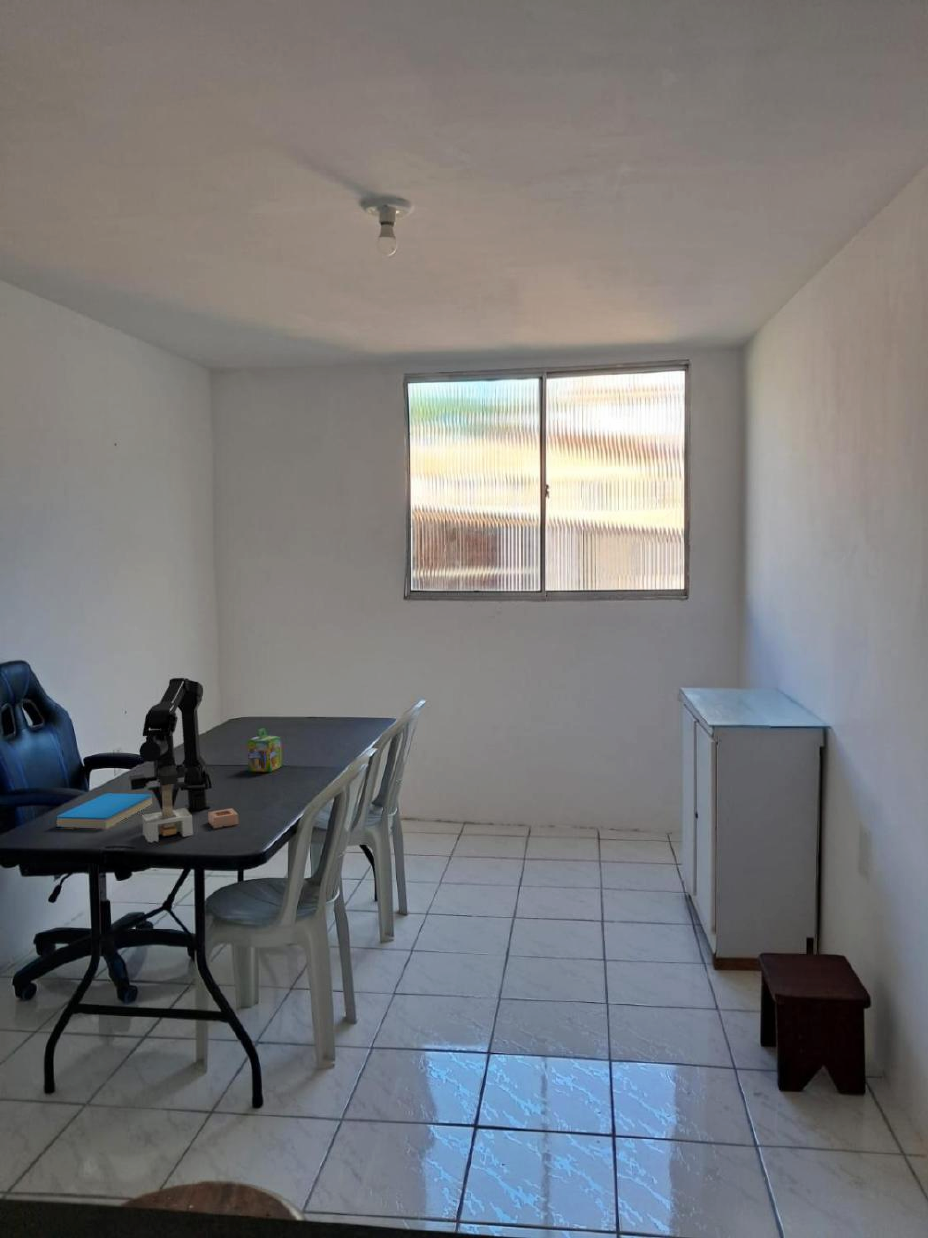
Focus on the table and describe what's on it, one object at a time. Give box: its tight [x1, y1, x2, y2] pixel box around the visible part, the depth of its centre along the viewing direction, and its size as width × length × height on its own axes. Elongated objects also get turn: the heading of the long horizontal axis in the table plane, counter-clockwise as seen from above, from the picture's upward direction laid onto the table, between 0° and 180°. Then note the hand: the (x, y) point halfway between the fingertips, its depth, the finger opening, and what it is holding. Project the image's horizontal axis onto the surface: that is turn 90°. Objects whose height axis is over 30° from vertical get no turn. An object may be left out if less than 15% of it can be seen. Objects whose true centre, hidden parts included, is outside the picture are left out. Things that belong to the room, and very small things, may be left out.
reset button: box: [160, 826, 177, 837], centre depth 256 cm, size 4×4×2 cm
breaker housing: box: [141, 807, 194, 843], centre depth 257 cm, size 9×12×6 cm
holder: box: [207, 807, 239, 829], centre depth 266 cm, size 7×7×3 cm
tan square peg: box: [159, 784, 174, 828], centre depth 255 cm, size 3×3×12 cm
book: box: [54, 792, 153, 830], centre depth 278 cm, size 17×4×25 cm
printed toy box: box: [246, 727, 283, 773], centre depth 330 cm, size 9×9×15 cm
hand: (166, 808), depth 255 cm, fingers closed on tan square peg, 3 cm apart
